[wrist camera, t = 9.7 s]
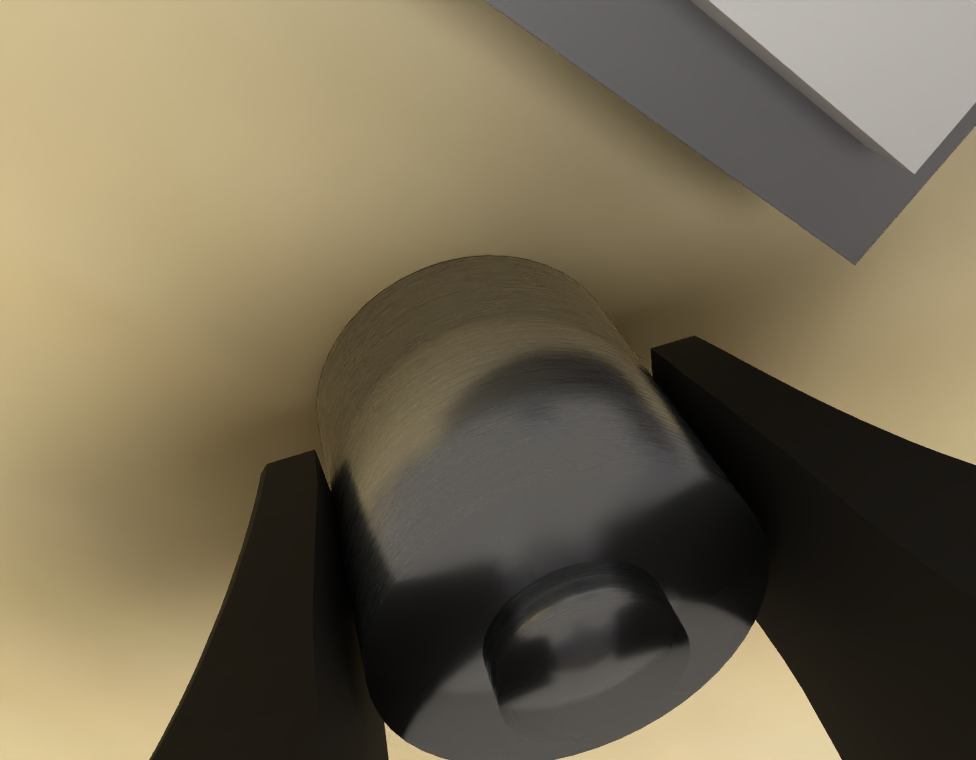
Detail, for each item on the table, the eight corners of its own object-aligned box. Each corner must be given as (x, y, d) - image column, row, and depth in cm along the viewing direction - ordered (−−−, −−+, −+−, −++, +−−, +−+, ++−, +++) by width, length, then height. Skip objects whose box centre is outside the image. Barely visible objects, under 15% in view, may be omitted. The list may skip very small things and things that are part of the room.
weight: (674, 335, 13) (880, 581, 9) (507, 544, 15) (621, 833, 11) (427, 198, 11) (556, 441, 7) (259, 460, 13) (287, 784, 9)
